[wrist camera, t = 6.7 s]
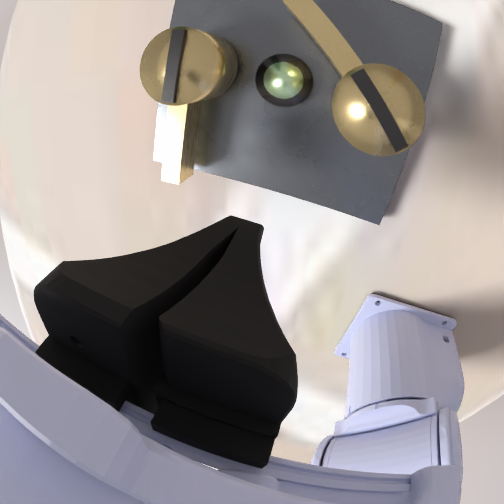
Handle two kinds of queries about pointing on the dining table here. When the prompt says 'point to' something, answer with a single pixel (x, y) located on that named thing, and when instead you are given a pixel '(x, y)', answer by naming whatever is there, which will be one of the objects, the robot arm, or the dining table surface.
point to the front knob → (365, 91)
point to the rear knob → (185, 88)
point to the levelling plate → (301, 98)
